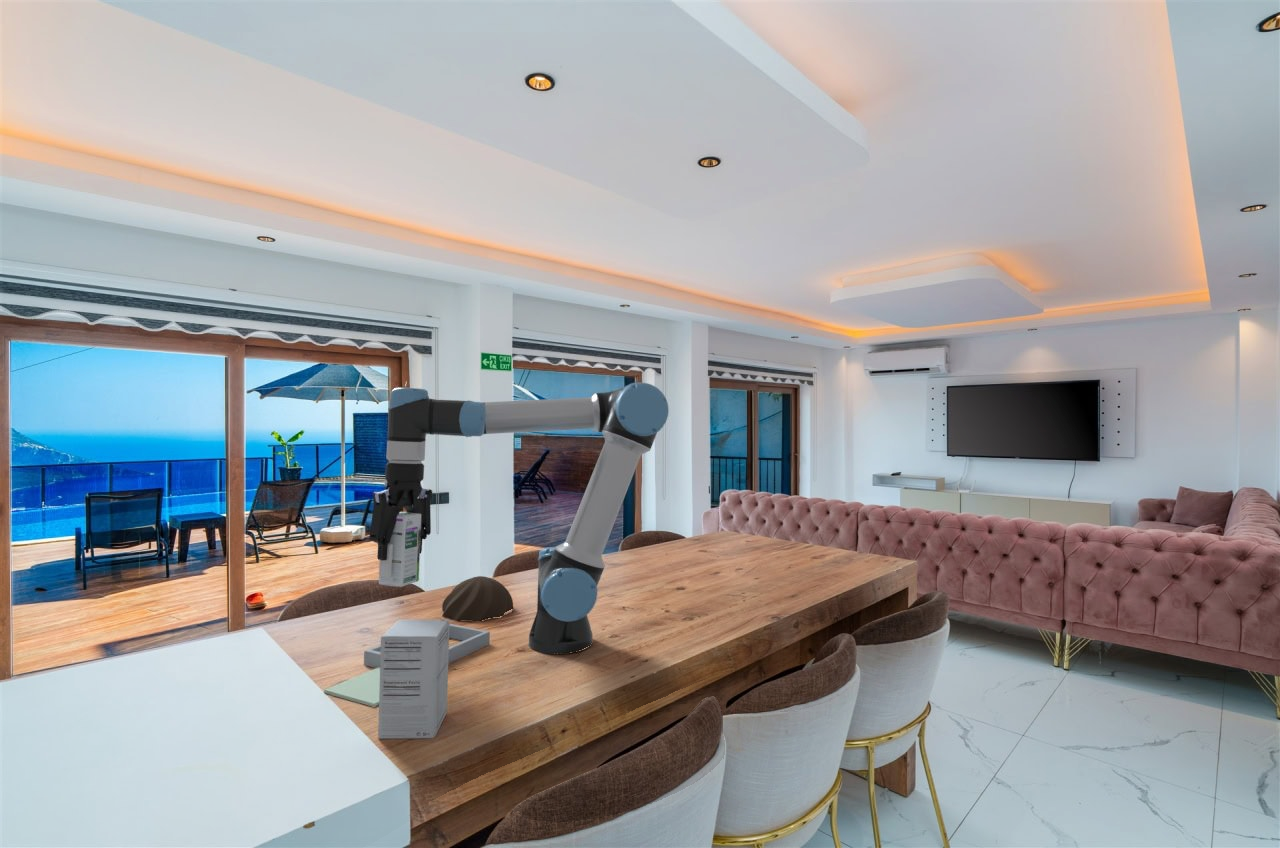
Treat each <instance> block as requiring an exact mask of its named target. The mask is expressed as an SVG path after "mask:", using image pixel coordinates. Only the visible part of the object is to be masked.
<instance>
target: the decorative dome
mask: <svg viewBox="0 0 1280 848" xmlns="http://www.w3.org/2000/svg"><path fill="white" fill-rule="evenodd" d="M441 609H442V612H443V613H442V616H441V617H442V618H446V619H451V618H452V619H451V620H453V621H455V622H462V621H461V620H473V621H472V622H474V621H481V622H483V621H482V620H485V619H488V618H493V617H500V616H503V615H504V613H505V612H507V611H509V610H511V609H513V610H514V601H513V597H512V595H511V593H510V591H509V590H508V589H507V588H506V587H505V586H504V585H503V583H501V582H499V581H498V580H496V579H494V578H491V577H487V576H481V575H478V576H473V577H470V578H468V579H465V580H464V581H461V582H459V583H458V584H456V586H454V587H453V588H452V590H451V592H450V593H449V594H448V595H447V596H446V597H445V598H444V600H443V601H442V607H441ZM504 616H505V615H504ZM504 616H503V617H504ZM485 621H486V620H485Z"/></svg>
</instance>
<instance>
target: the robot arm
mask: <svg viewBox="0 0 1280 848" xmlns="http://www.w3.org/2000/svg"><path fill="white" fill-rule="evenodd" d="M389 398H390V399H389V406H388V409H387V410H388V417H387V418H388V419H387V420H388V421H387V423H388V424H387V441H386V442H387V443H386V455H385V456H386V460H387V461H389V462H387V463H386V464H385V475H384V479H385V480H386V486H385V488H384V490H381V491H374V492H372V501H373V508H372V513H371V514H372V515H371V516H372V517H371V524H370V532H369V538H368V539H369V541H370V542H373V543H376V544H377V560H378V561H379V563H378V564H379V566H378V576H379V575H380V576H385V577H391V570H392V552H393V544H389V542H390V539H391V536H392V533H393V530H394V527H395V524H396V520H397V515H399V512H403V508H404V509H405V512H411V513H420V514H421V535H420V555H421V554H422V550H423V548H422V547H423V540H426V539H427V537H428V536H429V535H431V533H432V530H431V528H432V521H431V519H432V518H431V515H432V514H431V499H432V495H433V490H432V489H428V488H423V486H422V484H421V482H422V481H424V477H425V475H424V474H425V465H424V463H422V462H424V461H425V460H426V459H425V457H426V440H427V439H426V437H427V435H436V436H437V435H441V436H453V437H466V438H469V437H470V438H471V437H482V436H483V435H490V434H491V435H492V434H493V435H494V434H495V435H496V434H511V433H516V434H517V433H532V432H549V431H550V432H552V431H554V432H555V431H568V430H569V431H571V430H588V429H589V430H593V431H594V432H596V433H602V436H603V438H604V444H603V447H602V449H601V451H600V453H599V457H598V458H597V461H596V463H595V466H594V469H593V471H592V474H591V476H590V479H589V481H588V484H587V486H586V488H585V491H584V494H583V496H582V499H581V501H580V504H579V506H578V509H577V512H576V513H575V517H574V519H573V522H572V524H571V527H570V529H569V531H568V534H567V536H566V540H565V541H564V542H562V543H560V544H558V545H556V546H552V547H551V546H549V547H542V548H541V549H540V550H539V552H538V558H537V563H538V567H537V568H538V569H537V570H538V571H537V575H538V577H537V608H536V609H537V611H536V614H535V617H534V619H533V623H532V626H531V628H530V632H529V633H528V634H529V635H528V646H529V648H531V649H532V650H534V651H536V652H539V653H545V654H549V653H551V654H552V655H561V654H560V653H568V654H571V653H570V652H575V653H577V652H576V651H579V650H582V649H584V648H586V647H588V646H590V645H591V643H592V644H593V635H594V634H593V630H592V628H591V623H590V619H589V617H588V615H589V613H590V612H591V611H592V610H593V609H594V607H595V604H596V602H597V598H598V584H599V582H600V580H601V578H602V574H603V572H604V570H605V567H606V565H605V562H604V560H603V556H602V555H603V553H604V551H605V548H606V545H607V542H608V540H609V538H610V535H611V532H612V530H613V528H614V525H615V522H616V520H617V518H618V515H619V511H620V510H621V508H622V504H623V503H624V499H625V497H626V494H627V491H628V489H629V487H630V484H631V481H632V479H633V476H634V474H635V471H636V469H637V467H638V464H639V462H640V458H641V456H643V454H646V453H647V452H648V453H649V452H650V451H651V450H652V446H653V444H654V442H655V438H656V437H657V434H658V432H660V431H662V428H664V426H665V424H666V423H667V420H668V418H669V409H670V408H669V404H668V401H667V398H666V396H665V394H664V393H663V392H662V391H661V389H659V388H658V387H656V386H655V385H653V384H651V383H647V382H640V381H638V382H632V383H629V384H627V385H625V386H623V387H621V388H618V389H615V390H612V391H607V392H606V391H605V392H595V393H594V394H592V396H591V397H571V398H551V399H546V398H545V399H531V400H529V399H526V400H510V401H509V400H508V401H507V400H506V401H503V400H502V401H485V402H480V401H474V400H456V399H455V400H451V399H436V398H430V396H429V392H428V390H426V389H424V388H414V387H395V388H393V389H392V390H391V391H390V397H389ZM384 536H385V538H384ZM591 646H592V645H591ZM591 646H590V647H591ZM554 653H555V654H554ZM557 653H558V654H557ZM551 654H550V655H551Z"/></svg>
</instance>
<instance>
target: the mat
mask: <svg viewBox="0 0 1280 848" xmlns="http://www.w3.org/2000/svg"><path fill="white" fill-rule="evenodd" d="M379 691H380V667H378V668H374V669H371V670H369V671H367V672H366V671H365V672H364V673H361V674H359V675H357V676H353V677H352V678H350V679H347V680H345V681H343V682H342V681H341V682H340V683H337V684H335V685H332V686H330V687H327V688H326V689H324V692H323V693H324V694H327V695H330V696H333V697H337V698H339V699H340V698H341V699H343V700H344V699H345V700H348V701H352V702H355V703H359V704H363V705H367V706H368V707H373V708H376V707H378V706H379Z"/></svg>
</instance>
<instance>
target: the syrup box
mask: <svg viewBox="0 0 1280 848" xmlns="http://www.w3.org/2000/svg"><path fill="white" fill-rule="evenodd" d="M420 535H421V514H420V513H411V512H406V511H401V512H399V515H397V520H396V524H395V527H394V530H393V533H392V536H391V539H390V542H389V544H393V552H392V570H391V577H385V576H380V575H379V574H378V584H379V585H383V586H388V587H389V586H390V587H398V588H403V587H404V586H407V585H410V584H413V583H416V582H418V581H419V580H420V579H419V578H420V576H419V575H420V556H421V554H420ZM384 538H385V536H384Z"/></svg>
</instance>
